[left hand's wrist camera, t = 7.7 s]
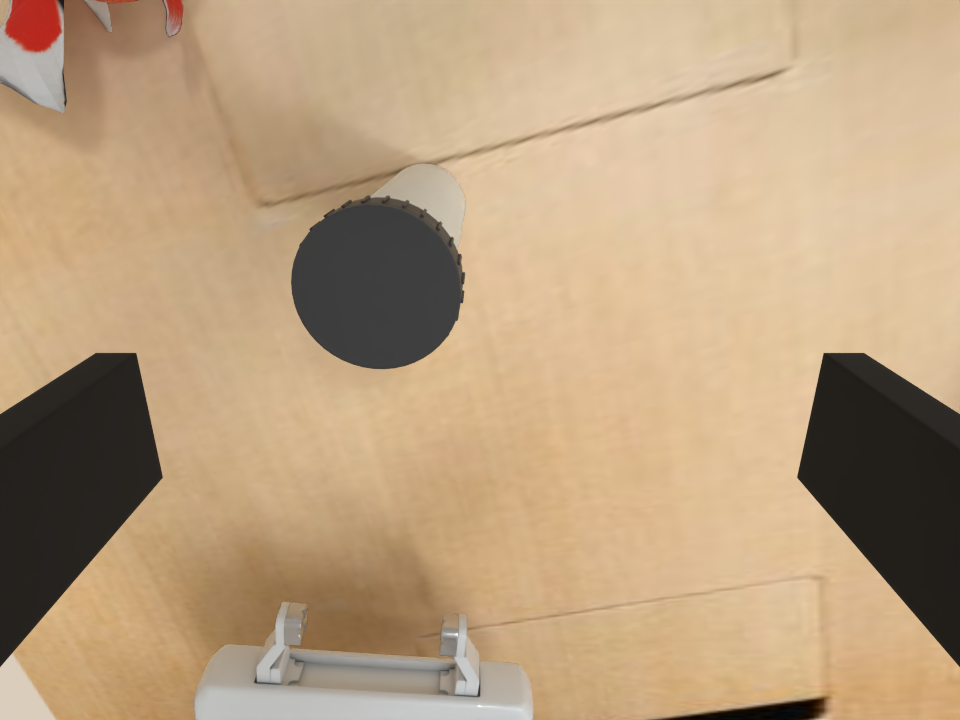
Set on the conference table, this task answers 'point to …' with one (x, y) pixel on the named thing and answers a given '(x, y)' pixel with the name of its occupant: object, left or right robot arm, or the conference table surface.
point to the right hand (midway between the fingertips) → (373, 615)
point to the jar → (430, 195)
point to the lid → (378, 283)
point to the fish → (50, 46)
